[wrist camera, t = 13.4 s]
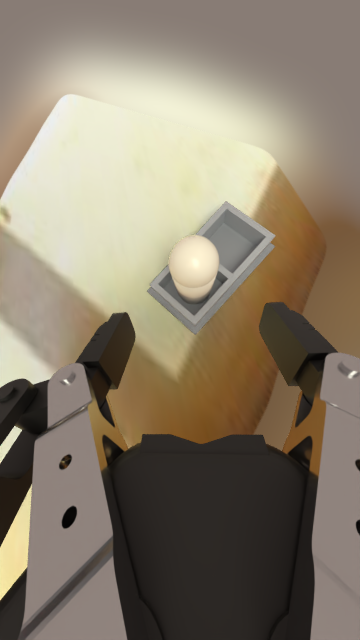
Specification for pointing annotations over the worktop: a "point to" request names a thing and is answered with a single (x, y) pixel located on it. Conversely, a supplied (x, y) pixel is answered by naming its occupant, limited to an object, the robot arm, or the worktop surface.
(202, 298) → the cream capsule shape
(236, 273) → the grey divided tray
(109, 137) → the worktop surface
